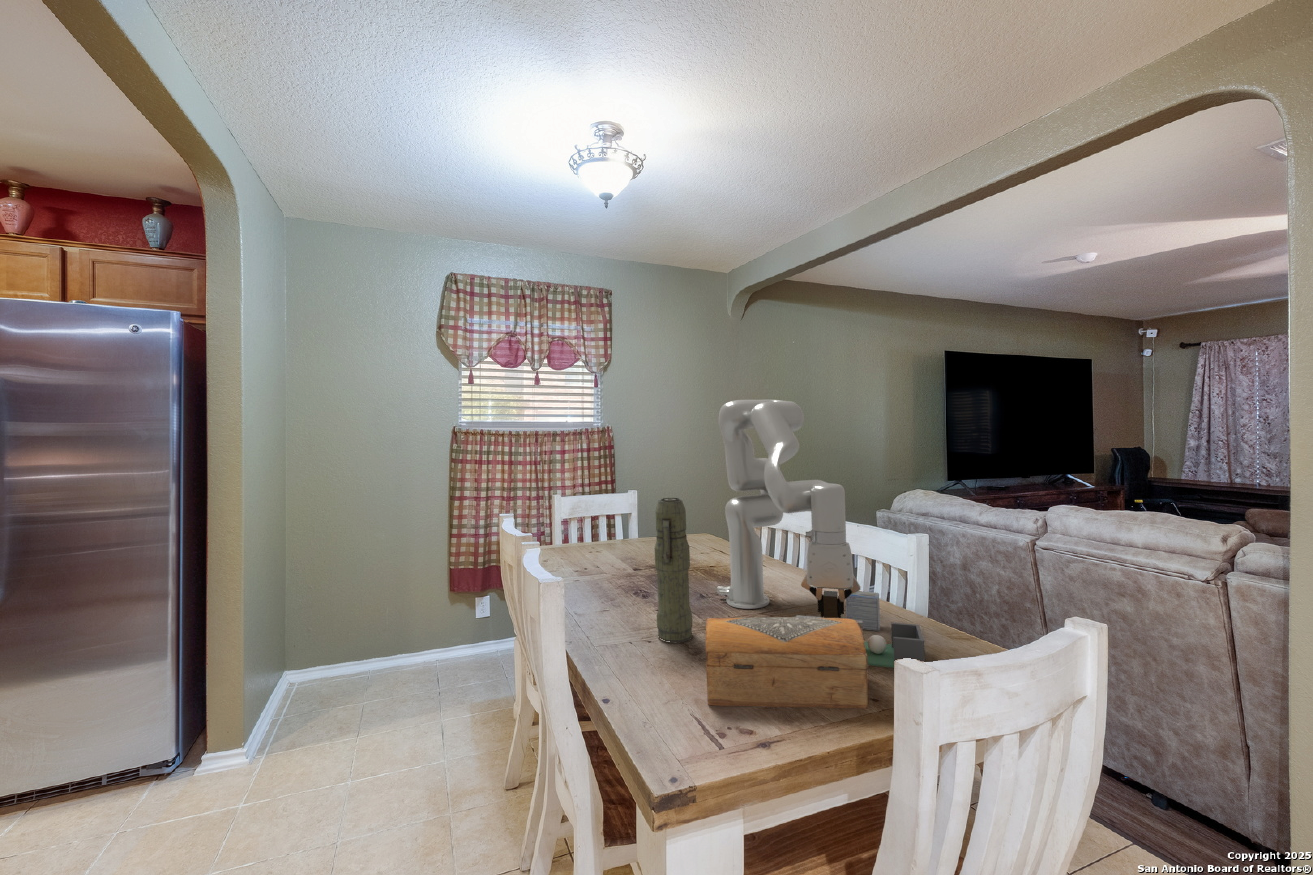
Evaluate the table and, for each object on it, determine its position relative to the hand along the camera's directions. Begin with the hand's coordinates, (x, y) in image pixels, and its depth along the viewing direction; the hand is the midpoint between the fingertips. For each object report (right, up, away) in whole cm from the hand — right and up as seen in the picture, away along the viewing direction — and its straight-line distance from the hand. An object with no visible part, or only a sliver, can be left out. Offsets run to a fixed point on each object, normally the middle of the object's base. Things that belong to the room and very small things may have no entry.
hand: (831, 615), depth 128 cm
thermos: (-36, -9, +12) cm, 39 cm away
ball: (+9, -6, -3) cm, 11 cm away
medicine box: (+13, -8, +14) cm, 20 cm away
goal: (+15, -8, -5) cm, 18 cm away
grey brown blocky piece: (0, -7, 0) cm, 7 cm away
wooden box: (-15, -10, -16) cm, 24 cm away
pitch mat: (+11, -8, -3) cm, 14 cm away
